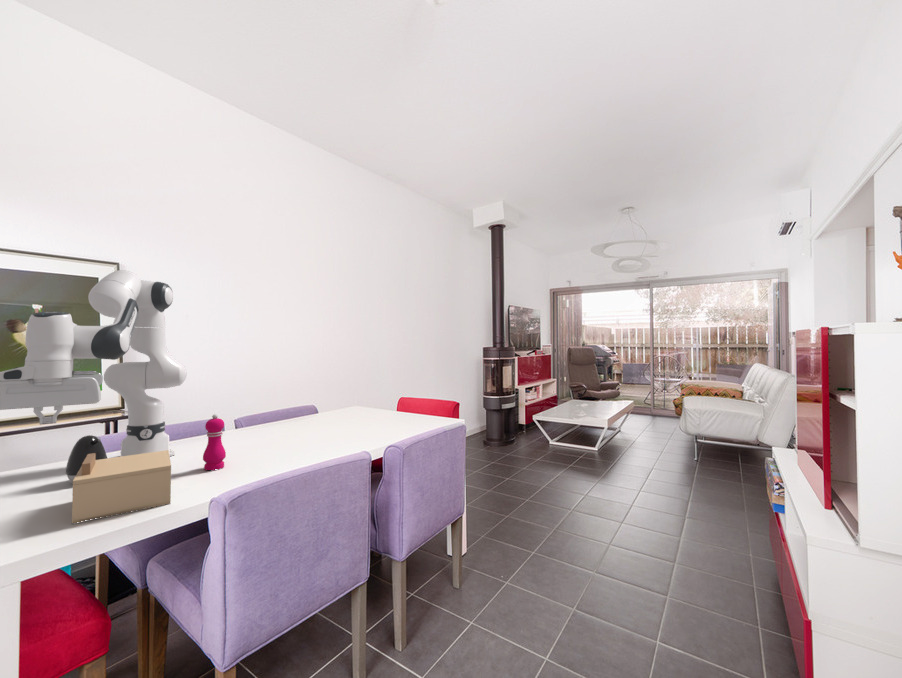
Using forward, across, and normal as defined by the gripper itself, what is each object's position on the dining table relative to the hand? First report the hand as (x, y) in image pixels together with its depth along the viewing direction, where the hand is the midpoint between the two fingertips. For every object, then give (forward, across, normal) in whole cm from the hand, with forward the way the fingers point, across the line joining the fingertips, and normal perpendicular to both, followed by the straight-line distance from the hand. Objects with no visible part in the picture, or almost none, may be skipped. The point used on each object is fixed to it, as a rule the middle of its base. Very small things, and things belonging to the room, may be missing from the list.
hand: (48, 423), depth 99 cm
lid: (+15, -16, 0) cm, 22 cm away
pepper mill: (+25, -40, -19) cm, 51 cm away
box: (+25, -16, 0) cm, 29 cm away
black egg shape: (+25, -5, -30) cm, 39 cm away
